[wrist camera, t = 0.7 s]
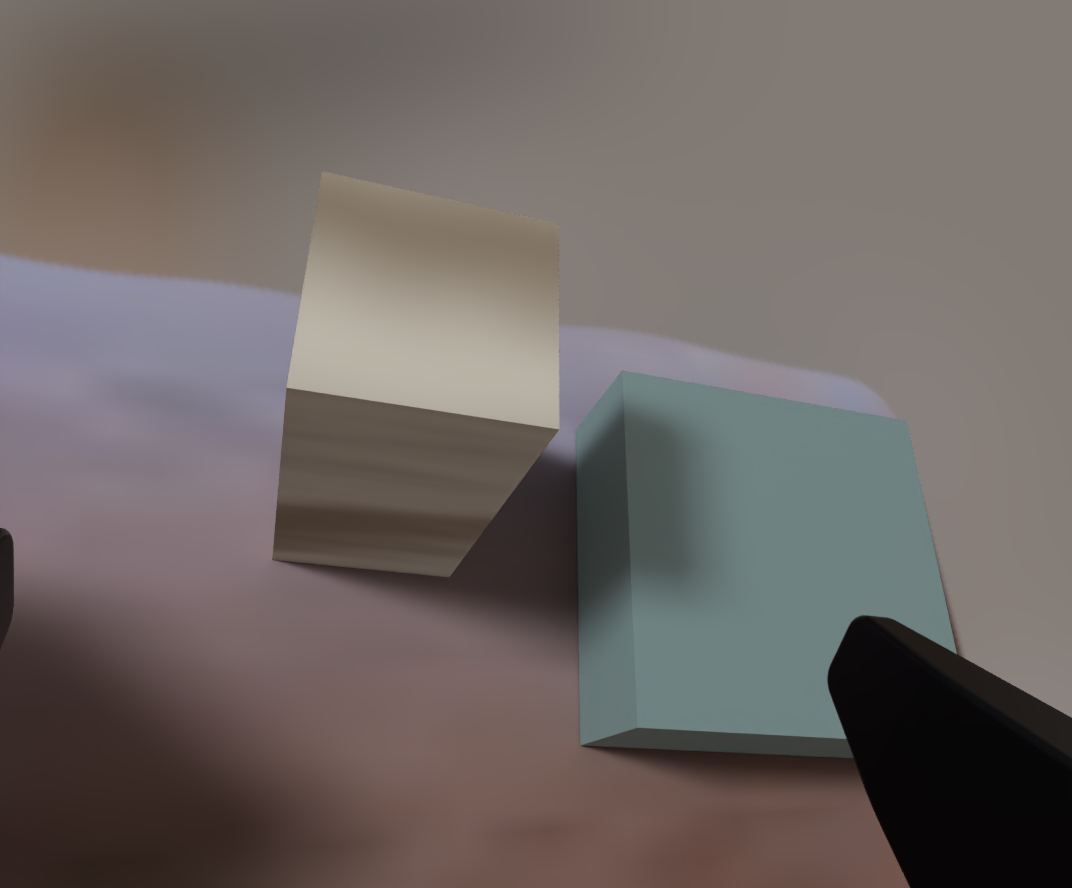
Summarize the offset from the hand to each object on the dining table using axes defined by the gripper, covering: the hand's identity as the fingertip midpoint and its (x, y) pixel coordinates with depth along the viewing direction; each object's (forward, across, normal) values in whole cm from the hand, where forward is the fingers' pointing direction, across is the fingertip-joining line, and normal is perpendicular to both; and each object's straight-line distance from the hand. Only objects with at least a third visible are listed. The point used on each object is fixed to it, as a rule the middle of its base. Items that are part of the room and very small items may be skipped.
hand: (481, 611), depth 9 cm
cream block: (+15, 0, +7) cm, 17 cm away
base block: (+14, -12, +8) cm, 19 cm away
